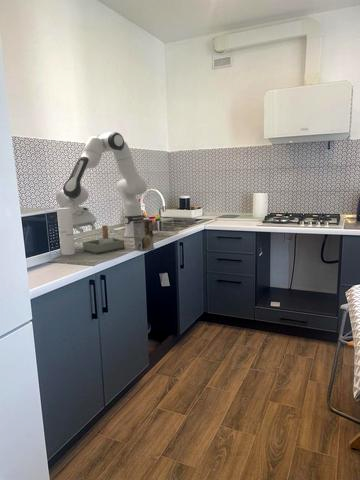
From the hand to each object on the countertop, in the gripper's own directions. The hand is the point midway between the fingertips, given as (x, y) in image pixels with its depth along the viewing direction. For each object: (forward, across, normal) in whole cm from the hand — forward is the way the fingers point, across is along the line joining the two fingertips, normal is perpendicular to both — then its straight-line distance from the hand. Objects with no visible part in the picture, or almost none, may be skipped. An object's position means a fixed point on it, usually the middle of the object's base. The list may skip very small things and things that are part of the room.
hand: (88, 230), depth 208 cm
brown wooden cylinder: (+16, 0, -3) cm, 16 cm away
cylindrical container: (+7, -15, +8) cm, 19 cm away
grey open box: (+15, 0, 0) cm, 15 cm away
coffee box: (+30, +10, -15) cm, 35 cm away
